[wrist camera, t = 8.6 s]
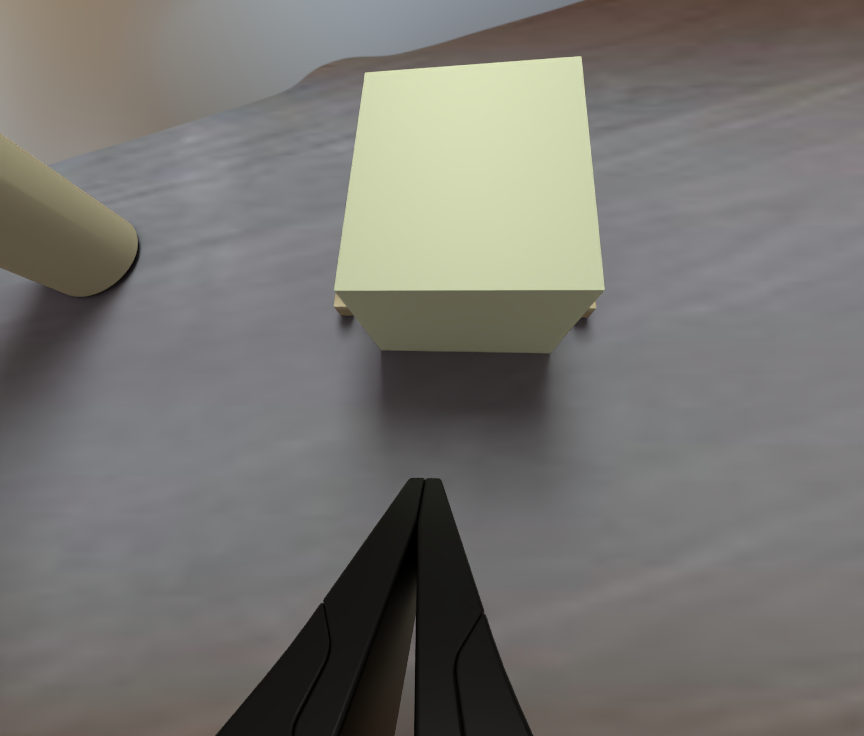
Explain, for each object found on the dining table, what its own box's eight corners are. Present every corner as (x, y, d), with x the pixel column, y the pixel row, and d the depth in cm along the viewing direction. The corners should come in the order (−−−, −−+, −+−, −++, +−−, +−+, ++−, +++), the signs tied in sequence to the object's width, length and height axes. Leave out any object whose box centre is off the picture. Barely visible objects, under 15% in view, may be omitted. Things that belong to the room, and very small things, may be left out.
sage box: (549, 353, 22) (604, 290, 14) (381, 351, 23) (333, 290, 15) (541, 189, 26) (581, 56, 17) (396, 194, 27) (365, 72, 18)
